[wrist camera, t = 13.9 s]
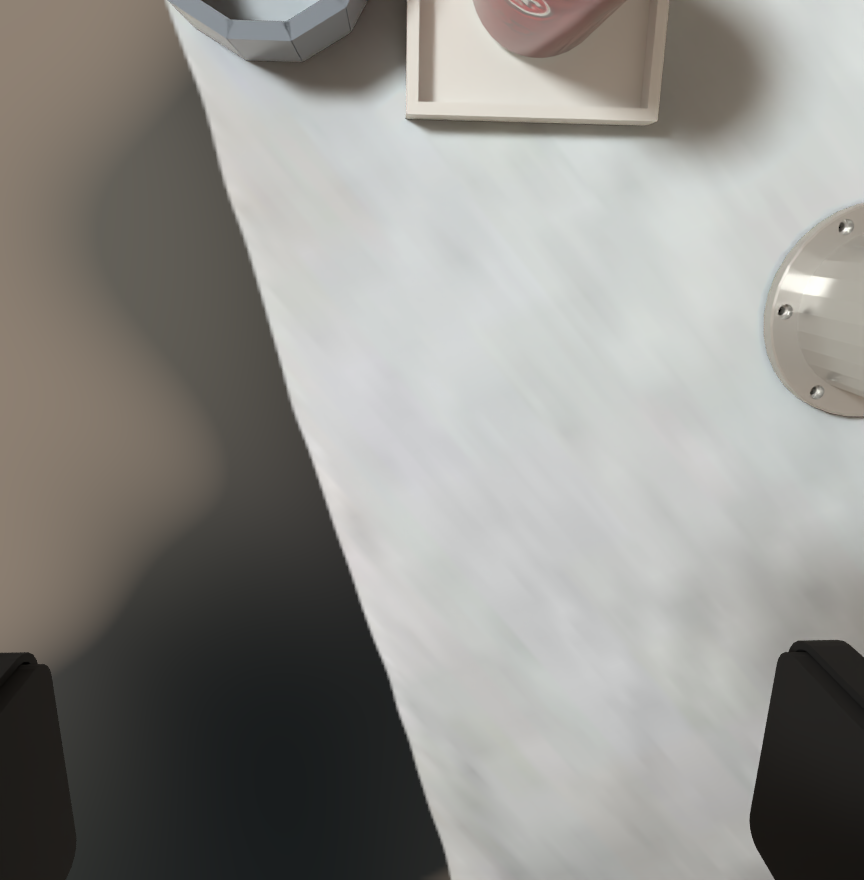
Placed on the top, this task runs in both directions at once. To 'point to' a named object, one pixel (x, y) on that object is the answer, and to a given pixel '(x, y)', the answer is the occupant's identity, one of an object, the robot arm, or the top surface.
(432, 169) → the top surface
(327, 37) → the holder
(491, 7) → the soda can
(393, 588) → the top surface
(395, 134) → the top surface
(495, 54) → the tray
